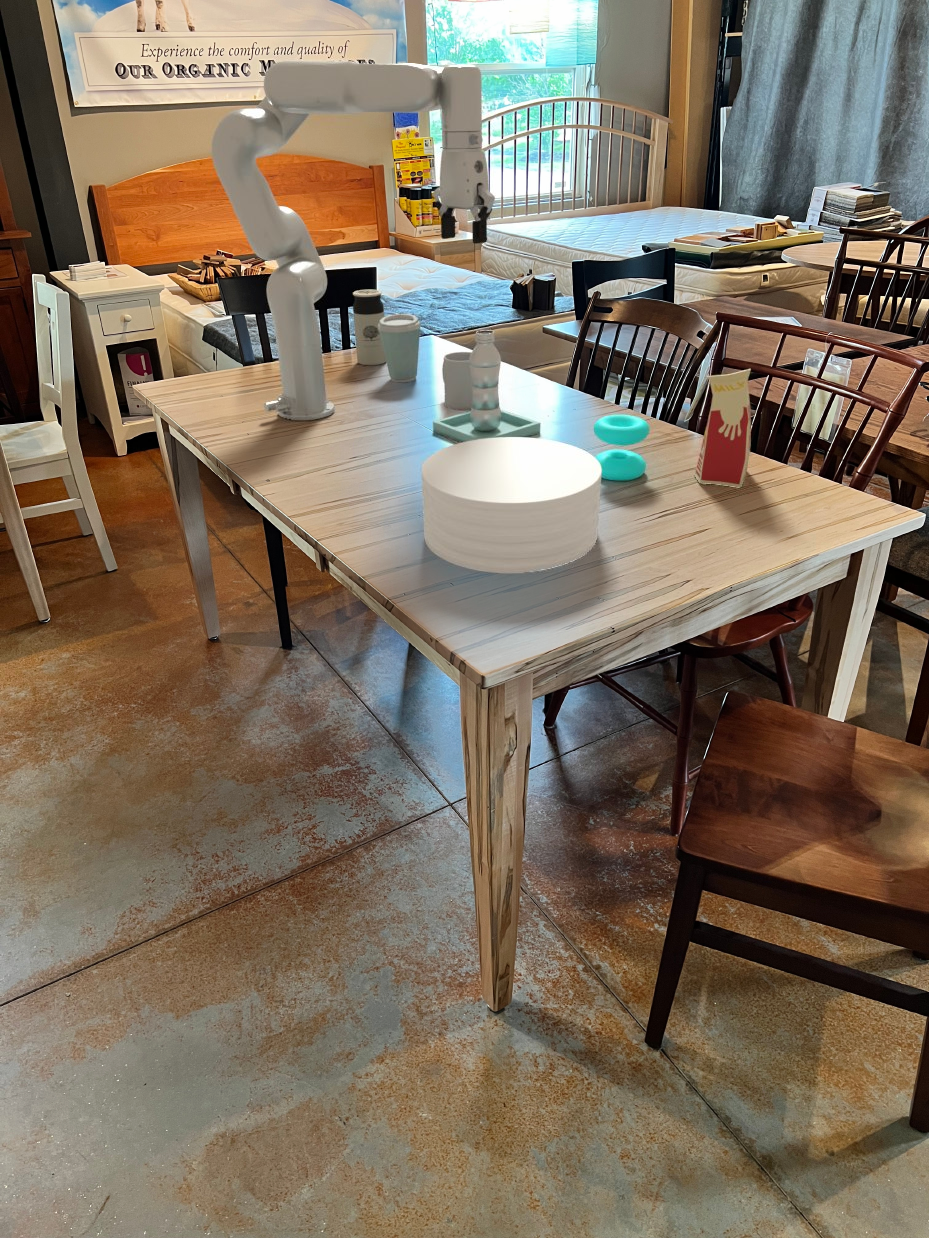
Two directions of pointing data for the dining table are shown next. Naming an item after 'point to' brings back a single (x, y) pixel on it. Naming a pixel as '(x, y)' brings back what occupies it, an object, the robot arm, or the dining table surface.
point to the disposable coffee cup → (400, 345)
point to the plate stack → (510, 503)
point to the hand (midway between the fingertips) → (463, 240)
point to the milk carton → (726, 432)
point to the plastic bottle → (485, 382)
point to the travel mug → (368, 327)
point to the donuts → (621, 433)
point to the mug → (457, 381)
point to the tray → (464, 431)
